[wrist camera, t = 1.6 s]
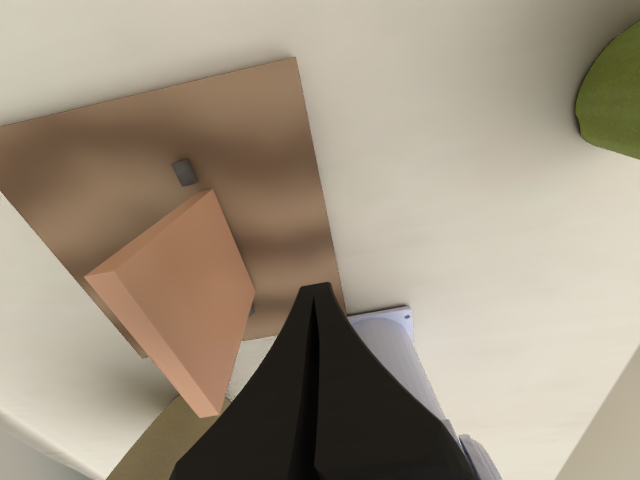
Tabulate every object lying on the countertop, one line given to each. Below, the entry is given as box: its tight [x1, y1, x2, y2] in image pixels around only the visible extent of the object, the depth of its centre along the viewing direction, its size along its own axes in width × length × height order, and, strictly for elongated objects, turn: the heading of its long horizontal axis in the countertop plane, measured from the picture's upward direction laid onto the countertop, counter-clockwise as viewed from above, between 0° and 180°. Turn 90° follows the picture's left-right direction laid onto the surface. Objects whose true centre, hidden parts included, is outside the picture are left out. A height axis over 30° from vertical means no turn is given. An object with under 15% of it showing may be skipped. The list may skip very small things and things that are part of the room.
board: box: [0, 57, 347, 358], centre depth 18 cm, size 20×20×2 cm
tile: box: [84, 189, 256, 418], centre depth 14 cm, size 9×1×9 cm, turn 11°
